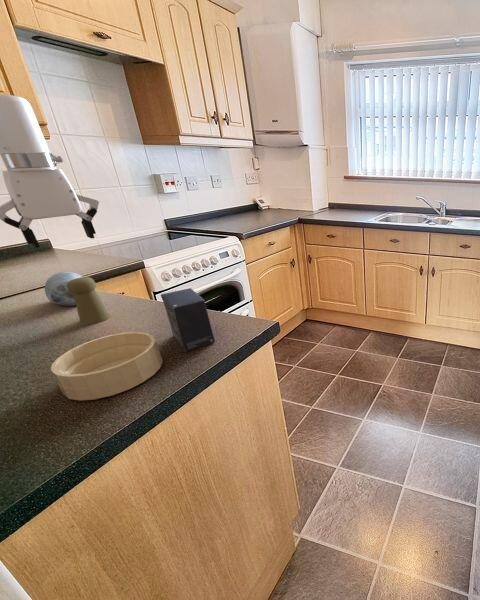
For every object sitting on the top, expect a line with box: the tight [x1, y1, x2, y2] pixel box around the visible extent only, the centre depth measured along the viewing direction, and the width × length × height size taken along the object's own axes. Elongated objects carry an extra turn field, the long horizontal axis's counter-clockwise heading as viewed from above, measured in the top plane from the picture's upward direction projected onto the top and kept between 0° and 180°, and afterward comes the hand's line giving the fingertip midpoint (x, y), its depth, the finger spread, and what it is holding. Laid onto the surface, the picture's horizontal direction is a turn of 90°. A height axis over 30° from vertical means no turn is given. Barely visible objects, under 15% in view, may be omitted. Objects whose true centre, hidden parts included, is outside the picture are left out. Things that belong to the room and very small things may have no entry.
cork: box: [67, 276, 112, 325], centre depth 84 cm, size 6×6×11 cm
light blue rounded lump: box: [44, 271, 84, 307], centre depth 95 cm, size 14×10×10 cm
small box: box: [160, 287, 216, 353], centre depth 75 cm, size 11×6×10 cm, turn 44°
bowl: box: [50, 331, 163, 401], centre depth 63 cm, size 15×15×6 cm
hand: (65, 242), depth 78 cm, fingers open, 9 cm apart
